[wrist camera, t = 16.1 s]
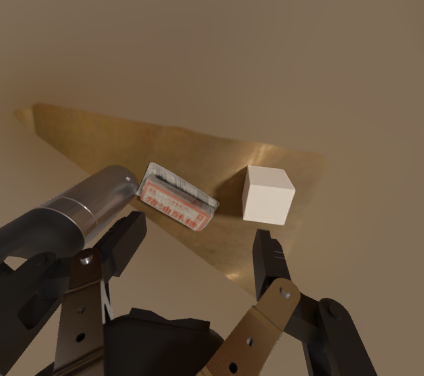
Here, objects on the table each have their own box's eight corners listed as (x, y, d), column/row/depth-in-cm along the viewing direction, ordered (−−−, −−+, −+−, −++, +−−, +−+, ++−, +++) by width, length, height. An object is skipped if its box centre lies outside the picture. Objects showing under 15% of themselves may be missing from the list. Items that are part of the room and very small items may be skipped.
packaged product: (219, 212, 38) (197, 240, 43) (221, 200, 43) (200, 227, 47) (142, 167, 36) (127, 202, 40) (152, 159, 40) (137, 192, 45)
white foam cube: (274, 199, 40) (283, 225, 32) (242, 195, 41) (243, 219, 33) (283, 169, 37) (295, 190, 29) (247, 165, 37) (250, 184, 30)
